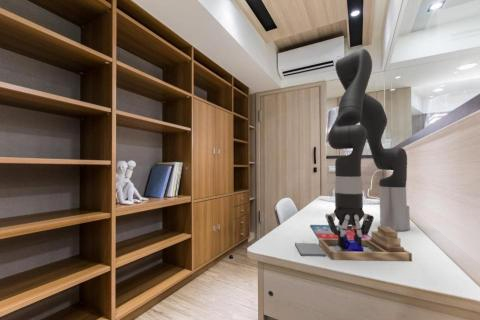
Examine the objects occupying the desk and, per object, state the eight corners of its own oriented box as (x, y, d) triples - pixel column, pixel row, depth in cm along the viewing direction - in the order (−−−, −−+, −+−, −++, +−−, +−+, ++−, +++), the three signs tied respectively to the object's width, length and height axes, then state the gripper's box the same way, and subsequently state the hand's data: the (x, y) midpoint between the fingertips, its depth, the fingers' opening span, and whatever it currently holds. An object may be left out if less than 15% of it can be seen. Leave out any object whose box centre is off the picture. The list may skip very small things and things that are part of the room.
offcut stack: (385, 245, 70) (384, 225, 71) (404, 256, 62) (403, 233, 62) (370, 245, 71) (369, 225, 71) (387, 256, 62) (386, 233, 62)
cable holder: (363, 256, 62) (363, 242, 63) (351, 256, 63) (350, 242, 63) (350, 246, 70) (349, 233, 71) (338, 246, 71) (338, 233, 71)
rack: (386, 245, 72) (386, 239, 72) (411, 261, 60) (411, 253, 60) (318, 244, 73) (318, 238, 73) (331, 259, 61) (331, 252, 61)
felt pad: (316, 245, 73) (316, 243, 73) (325, 256, 64) (325, 254, 64) (295, 244, 73) (295, 243, 73) (301, 255, 64) (301, 253, 64)
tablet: (322, 246, 72) (322, 244, 72) (309, 226, 97) (309, 224, 97) (386, 249, 70) (385, 247, 70) (356, 227, 94) (356, 225, 94)
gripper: (366, 189, 71) (367, 244, 70) (320, 190, 71) (321, 244, 71) (379, 192, 63) (381, 253, 63) (328, 192, 64) (330, 253, 63)
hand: (349, 248), depth 67 cm, fingers closed on cable holder, 3 cm apart
